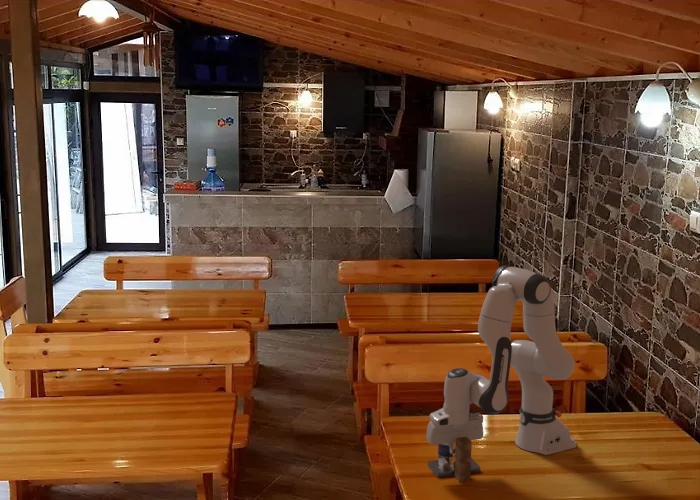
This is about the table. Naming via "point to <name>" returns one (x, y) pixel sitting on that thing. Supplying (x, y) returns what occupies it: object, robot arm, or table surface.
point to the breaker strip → (448, 466)
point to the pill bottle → (444, 451)
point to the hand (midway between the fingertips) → (454, 452)
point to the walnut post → (463, 458)
